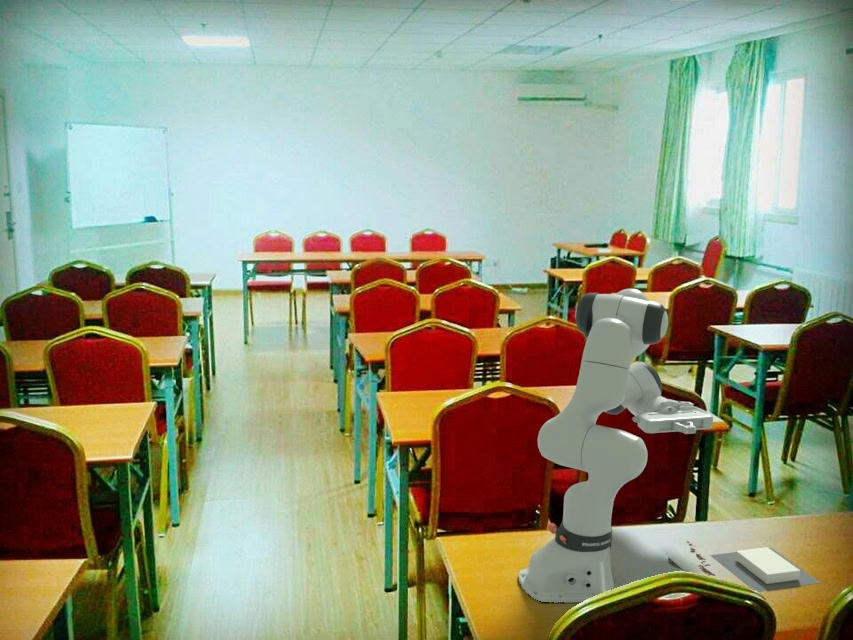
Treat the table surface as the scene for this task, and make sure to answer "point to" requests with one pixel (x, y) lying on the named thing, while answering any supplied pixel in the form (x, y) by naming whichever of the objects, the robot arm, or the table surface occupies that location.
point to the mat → (753, 580)
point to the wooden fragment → (699, 565)
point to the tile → (767, 565)
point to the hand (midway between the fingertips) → (691, 430)
